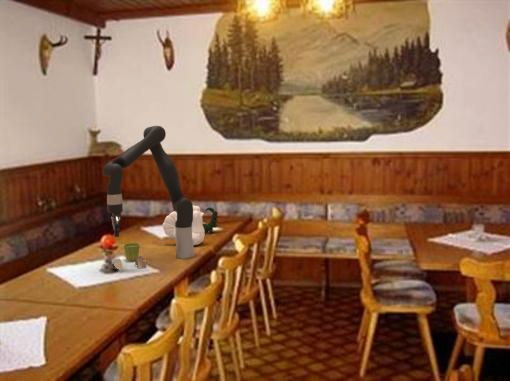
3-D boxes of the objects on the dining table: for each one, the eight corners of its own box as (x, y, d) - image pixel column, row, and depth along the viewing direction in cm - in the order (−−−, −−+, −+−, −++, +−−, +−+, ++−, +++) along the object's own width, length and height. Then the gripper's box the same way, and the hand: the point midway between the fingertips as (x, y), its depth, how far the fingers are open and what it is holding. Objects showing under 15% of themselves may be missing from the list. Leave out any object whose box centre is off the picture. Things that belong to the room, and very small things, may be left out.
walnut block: (146, 267, 283) (142, 263, 292) (146, 260, 282) (142, 256, 292) (138, 268, 281) (135, 264, 291) (138, 261, 281) (135, 256, 290)
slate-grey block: (122, 270, 279) (119, 265, 288) (122, 262, 278) (119, 258, 287) (114, 271, 277) (112, 266, 286) (114, 263, 277) (111, 259, 286)
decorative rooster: (207, 242, 343) (206, 203, 340) (200, 248, 327) (199, 207, 324) (169, 241, 347) (168, 203, 344) (160, 247, 332) (159, 206, 329)
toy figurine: (217, 234, 378) (182, 230, 381) (219, 207, 376) (183, 203, 378) (215, 237, 369) (178, 233, 371) (216, 209, 366) (180, 205, 369)
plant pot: (136, 262, 294) (136, 246, 293) (120, 261, 296) (119, 246, 295) (143, 258, 304) (143, 243, 303) (127, 257, 305) (127, 242, 304)
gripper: (124, 204, 272) (126, 238, 274) (120, 200, 284) (122, 233, 286) (108, 205, 269) (110, 239, 271) (105, 202, 281) (107, 235, 283)
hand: (116, 236), depth 279 cm, fingers closed
